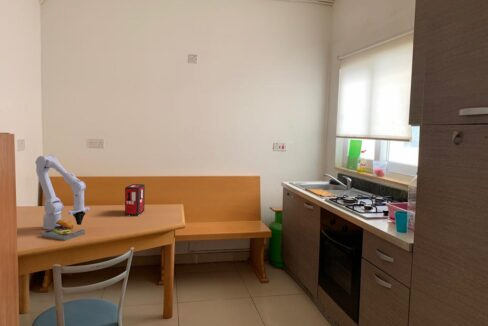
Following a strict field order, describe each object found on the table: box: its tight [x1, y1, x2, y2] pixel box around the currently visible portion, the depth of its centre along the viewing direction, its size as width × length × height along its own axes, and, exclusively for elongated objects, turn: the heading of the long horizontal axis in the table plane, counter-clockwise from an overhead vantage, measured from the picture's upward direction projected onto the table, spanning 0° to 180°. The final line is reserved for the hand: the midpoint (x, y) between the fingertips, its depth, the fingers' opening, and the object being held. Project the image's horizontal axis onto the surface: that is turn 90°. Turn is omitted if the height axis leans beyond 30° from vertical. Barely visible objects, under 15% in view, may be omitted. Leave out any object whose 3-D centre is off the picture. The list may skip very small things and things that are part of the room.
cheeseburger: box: [52, 219, 74, 235], centre depth 212 cm, size 10×11×10 cm
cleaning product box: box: [124, 183, 146, 217], centre depth 269 cm, size 16×9×20 cm, turn 179°
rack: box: [40, 229, 86, 241], centre depth 212 cm, size 17×14×3 cm
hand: (79, 224), depth 223 cm, fingers closed
